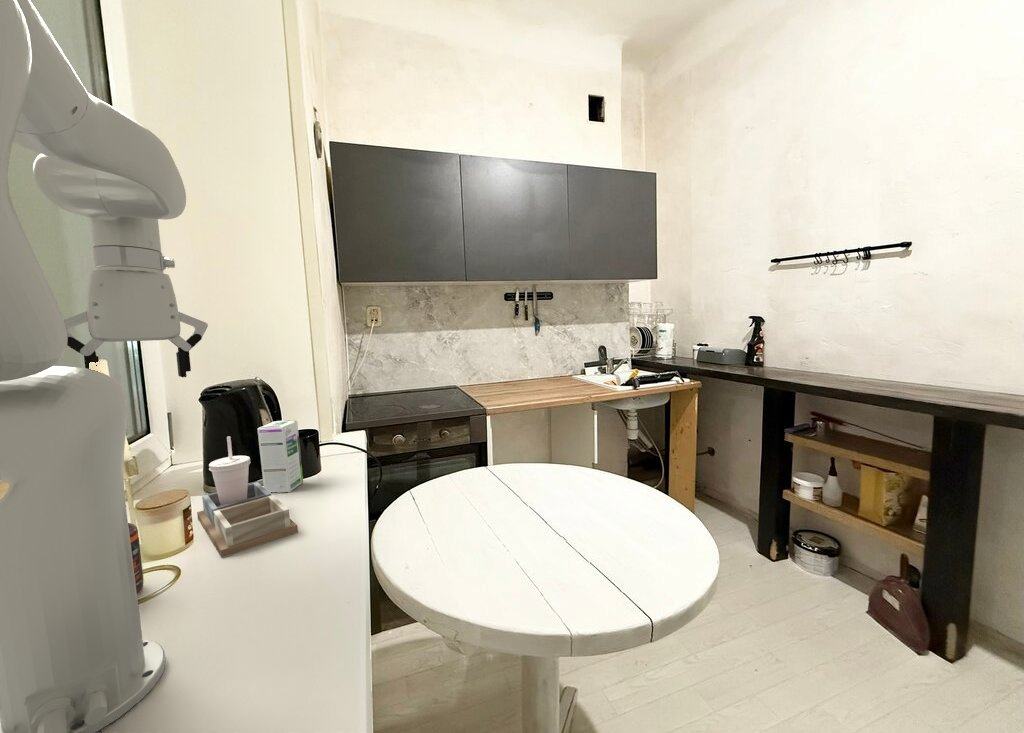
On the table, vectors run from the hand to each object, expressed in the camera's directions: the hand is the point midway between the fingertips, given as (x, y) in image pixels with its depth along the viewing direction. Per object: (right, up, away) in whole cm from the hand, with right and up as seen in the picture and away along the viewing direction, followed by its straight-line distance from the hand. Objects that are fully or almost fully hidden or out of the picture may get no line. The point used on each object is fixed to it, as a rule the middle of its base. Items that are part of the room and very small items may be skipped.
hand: (142, 379), depth 64 cm
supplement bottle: (+3, -29, -8) cm, 30 cm away
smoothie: (+4, -25, +15) cm, 30 cm away
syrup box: (+5, -25, +29) cm, 39 cm away
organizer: (+8, -26, +12) cm, 30 cm away
